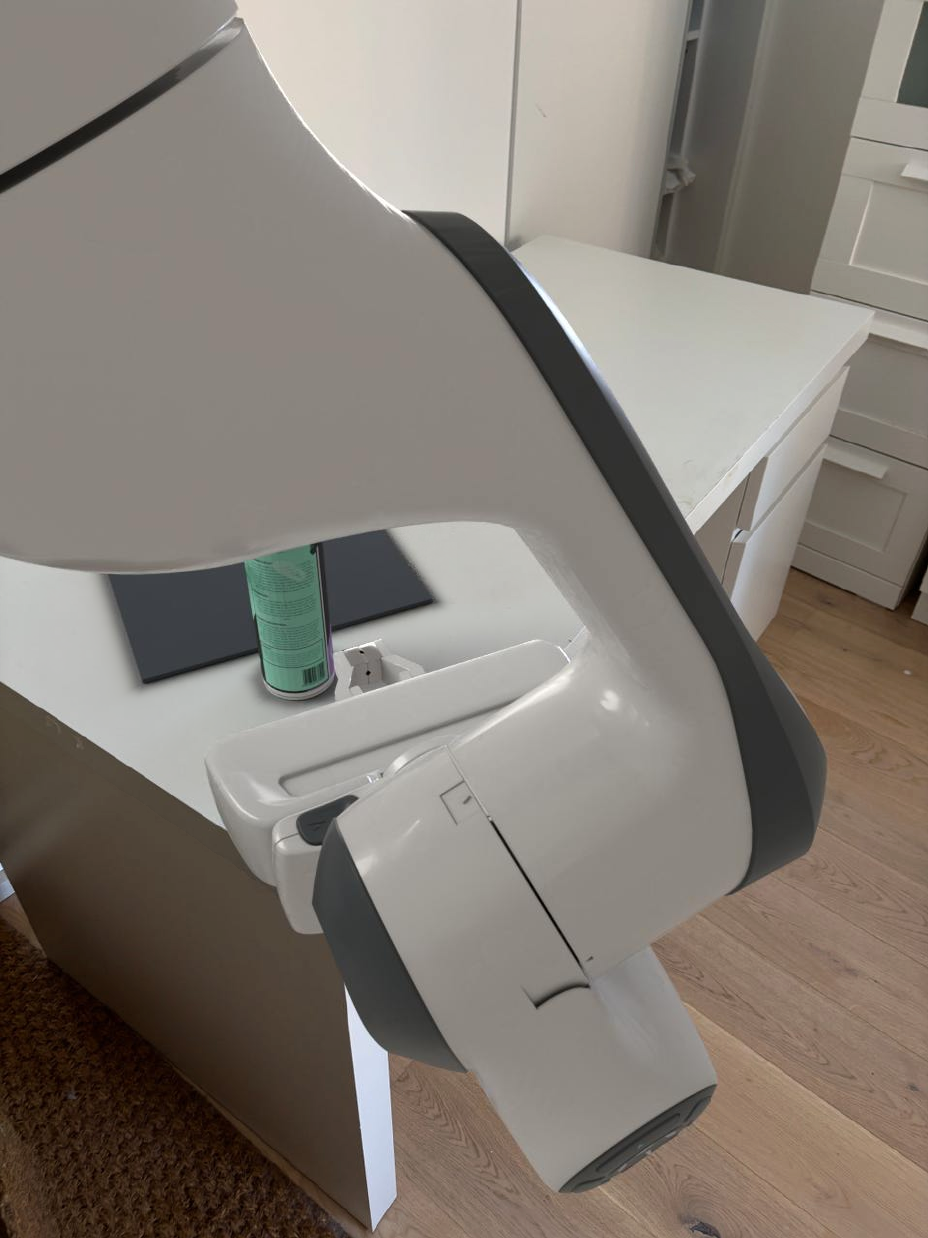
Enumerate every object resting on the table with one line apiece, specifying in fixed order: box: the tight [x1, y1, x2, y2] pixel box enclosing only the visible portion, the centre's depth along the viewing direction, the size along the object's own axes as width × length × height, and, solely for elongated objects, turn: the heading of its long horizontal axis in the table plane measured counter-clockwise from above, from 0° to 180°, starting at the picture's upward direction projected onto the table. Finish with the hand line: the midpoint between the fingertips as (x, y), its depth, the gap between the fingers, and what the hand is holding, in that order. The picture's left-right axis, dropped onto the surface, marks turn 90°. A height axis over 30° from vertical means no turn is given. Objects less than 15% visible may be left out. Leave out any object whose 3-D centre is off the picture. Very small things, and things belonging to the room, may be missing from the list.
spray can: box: [244, 541, 336, 701], centre depth 68 cm, size 6×6×20 cm
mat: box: [107, 529, 433, 684], centre depth 85 cm, size 24×24×1 cm
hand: (357, 654), depth 56 cm, fingers closed
